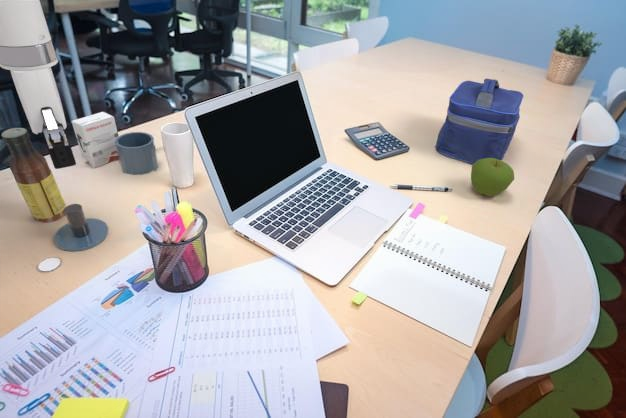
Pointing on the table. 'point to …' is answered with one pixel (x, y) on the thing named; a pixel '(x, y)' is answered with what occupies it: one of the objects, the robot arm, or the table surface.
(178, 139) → the drinking glass
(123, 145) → the canister
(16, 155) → the sauce bottle
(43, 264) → the white flat disc
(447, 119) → the lunch bag
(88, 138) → the ink box
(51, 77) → the robot arm
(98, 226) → the canister lid
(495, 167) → the apple
